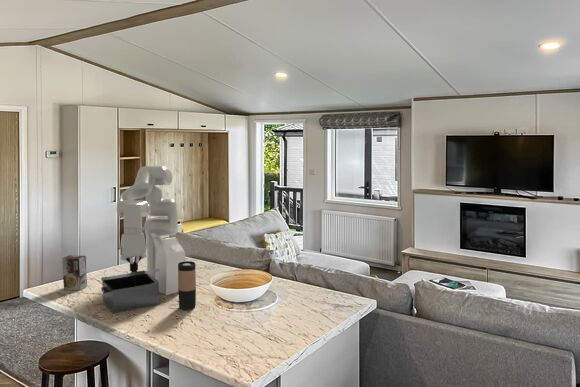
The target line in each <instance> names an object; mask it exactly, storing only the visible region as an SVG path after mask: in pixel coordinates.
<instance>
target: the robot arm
mask: <svg viewBox="0 0 580 387" xmlns="http://www.w3.org/2000/svg"><path fill="white" fill-rule="evenodd" d="M134 180H135V181H134V183H133V185H131V186H129V187H128V188H126V189H125V190H123V192H121V194H120V195H119V197H118V202H117V203H116V213H117V215H118V216H119V217H121V218H123V233H122V234H121V238H120V248H119V250H120V252H119V253H120V260H121V261H127V262H128V263H129V271H130V273H131V272H137V271H138V270H139V263H140V261H141V260H142V259H144V258H146V264H147V266H146V268H147V270H146V271H148V270H155V264H156V252H157V251H158V249H159V248H160V247H161V246H162V244H163V241H164V239H163V238H162V237H167V236H168V237H169V236H170V237H171V236H175V235H176V234H178V230H179V227H178V226H179V222H178V205H177V201H176V200H175V199H173V198H163V190H162V187H161V186H170V185H171V184H172V182H173V172H172V171H171V169H169V168H168V167H166V166H162V165H161V166H160V165H144V166H141V167H140V168H139V169H138V171H137V175H136V177H135V179H134ZM143 198H145V200H139V199H143ZM147 216H150V217H152V218H149V219H146V221H145V222H144V224H143V218H145V217H147ZM153 217H154V218H153ZM155 217H156V218H155ZM157 217H159V218H157ZM161 217H163V218H161ZM164 217H165V218H164ZM166 217H167V218H166ZM143 225H144V226H143ZM143 231H144V232H145V234H144V232H143ZM145 238H146V239H145ZM147 274H148V275H149V276H151V277H152V278H153V279H155V272H153V273H147Z"/></svg>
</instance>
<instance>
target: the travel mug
mask: <svg viewBox="0 0 580 387" xmlns="http://www.w3.org/2000/svg"><path fill="white" fill-rule="evenodd" d="M196 273H197V272H196V261H195V262H194V261H188V260H186V261H185V262H180V263H178V292H177V293H178V309H179V310H181V309H182V310H181V311H190V309H191V310H194V309H195V308H196V307H195V306H197V304H196V303H197V283H196V282H197V281H196V280H197V277H196ZM193 308H194V309H193Z"/></svg>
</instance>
